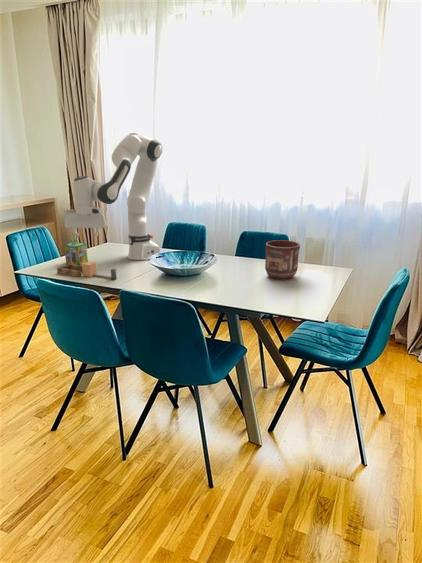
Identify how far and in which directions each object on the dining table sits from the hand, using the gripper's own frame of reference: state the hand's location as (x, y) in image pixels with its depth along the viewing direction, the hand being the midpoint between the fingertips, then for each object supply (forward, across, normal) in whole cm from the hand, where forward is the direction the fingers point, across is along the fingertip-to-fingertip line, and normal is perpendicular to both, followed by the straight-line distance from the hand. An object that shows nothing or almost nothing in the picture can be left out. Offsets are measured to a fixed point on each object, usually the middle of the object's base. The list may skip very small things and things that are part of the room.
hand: (86, 236), depth 214 cm
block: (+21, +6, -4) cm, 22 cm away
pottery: (+21, +100, -12) cm, 103 cm away
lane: (+21, -9, +5) cm, 23 cm away
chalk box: (+21, -11, +24) cm, 34 cm away
